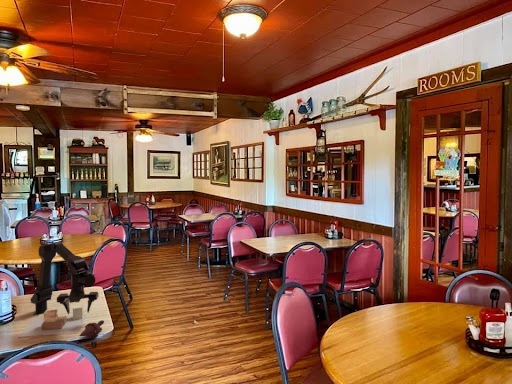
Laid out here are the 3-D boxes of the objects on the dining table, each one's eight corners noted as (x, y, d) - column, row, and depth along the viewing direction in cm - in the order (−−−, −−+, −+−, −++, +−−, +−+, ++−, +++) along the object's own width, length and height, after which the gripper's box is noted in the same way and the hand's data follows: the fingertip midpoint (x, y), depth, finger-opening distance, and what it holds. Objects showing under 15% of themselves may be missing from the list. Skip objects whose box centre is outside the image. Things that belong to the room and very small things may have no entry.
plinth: (47, 323, 196) (47, 317, 196) (66, 322, 198) (66, 316, 198) (41, 331, 188) (41, 324, 187) (61, 329, 189) (61, 323, 189)
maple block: (47, 318, 194) (46, 309, 194) (57, 318, 195) (57, 308, 195) (43, 322, 189) (43, 313, 189) (54, 322, 190) (54, 312, 190)
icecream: (88, 331, 173) (110, 321, 187) (75, 325, 175) (98, 315, 190) (84, 345, 174) (106, 334, 188) (72, 339, 176) (95, 329, 190)
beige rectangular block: (73, 316, 205) (73, 305, 204) (82, 315, 206) (82, 304, 206) (73, 319, 201) (72, 308, 200) (82, 318, 202) (82, 307, 202)
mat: (34, 319, 202) (34, 318, 202) (87, 315, 207) (87, 314, 207) (18, 337, 180) (18, 336, 180) (77, 333, 186) (77, 332, 186)
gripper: (52, 289, 184) (53, 321, 185) (93, 287, 188) (94, 318, 189) (59, 282, 195) (60, 312, 196) (98, 280, 199) (99, 309, 200)
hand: (78, 313), depth 195 cm, fingers open, 9 cm apart
